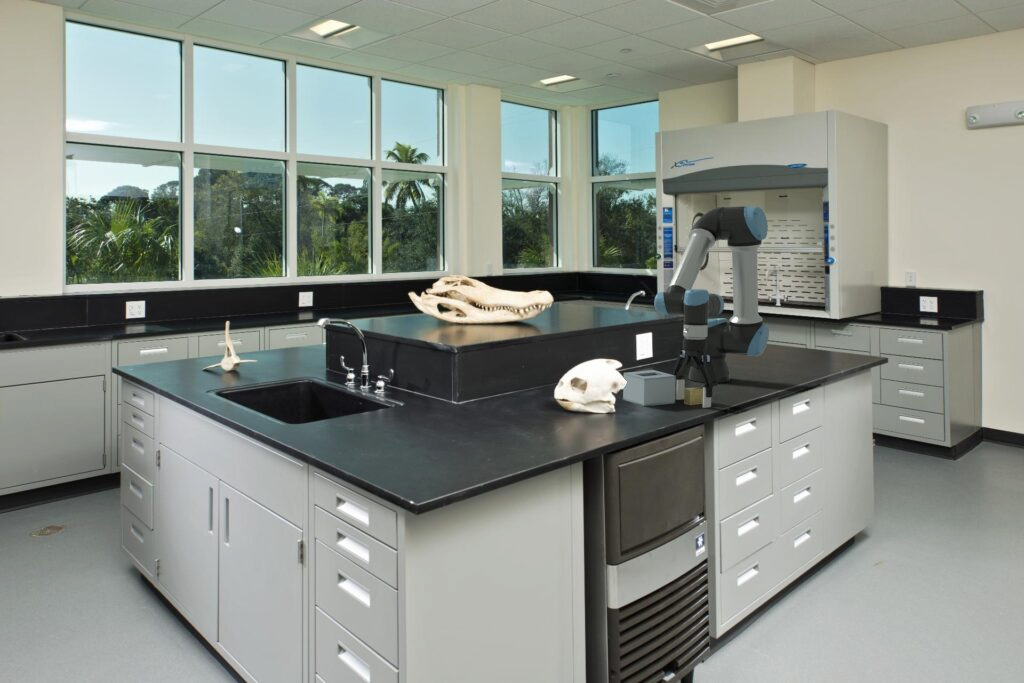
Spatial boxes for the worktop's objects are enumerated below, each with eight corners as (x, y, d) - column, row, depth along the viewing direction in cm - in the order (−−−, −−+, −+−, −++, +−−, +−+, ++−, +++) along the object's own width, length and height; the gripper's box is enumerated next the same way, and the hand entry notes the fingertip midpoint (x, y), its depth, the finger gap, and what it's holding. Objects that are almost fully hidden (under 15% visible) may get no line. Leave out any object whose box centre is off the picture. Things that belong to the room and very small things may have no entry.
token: (696, 402, 246) (697, 387, 246) (702, 403, 244) (702, 388, 243) (684, 403, 244) (684, 388, 244) (689, 405, 241) (690, 390, 241)
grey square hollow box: (653, 396, 255) (653, 370, 254) (674, 403, 245) (675, 375, 243) (623, 399, 250) (623, 372, 249) (643, 406, 240) (644, 378, 238)
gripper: (662, 334, 251) (660, 397, 253) (711, 342, 228) (708, 411, 231) (680, 333, 254) (678, 395, 256) (730, 341, 231) (728, 409, 234)
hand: (693, 403), depth 244 cm, fingers open, 13 cm apart
